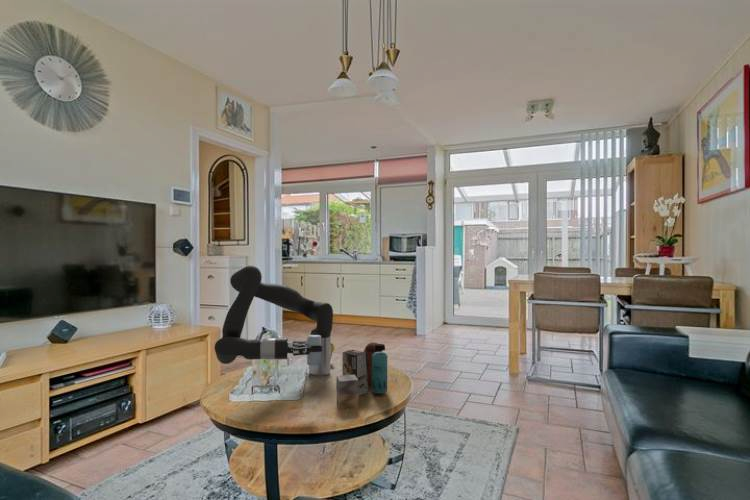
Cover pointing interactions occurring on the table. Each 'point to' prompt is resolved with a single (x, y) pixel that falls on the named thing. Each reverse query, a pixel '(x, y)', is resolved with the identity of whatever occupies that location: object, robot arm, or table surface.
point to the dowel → (314, 357)
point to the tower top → (347, 384)
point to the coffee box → (356, 368)
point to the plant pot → (331, 350)
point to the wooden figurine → (370, 359)
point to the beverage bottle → (379, 370)
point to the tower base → (347, 400)
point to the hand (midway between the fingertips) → (321, 346)
